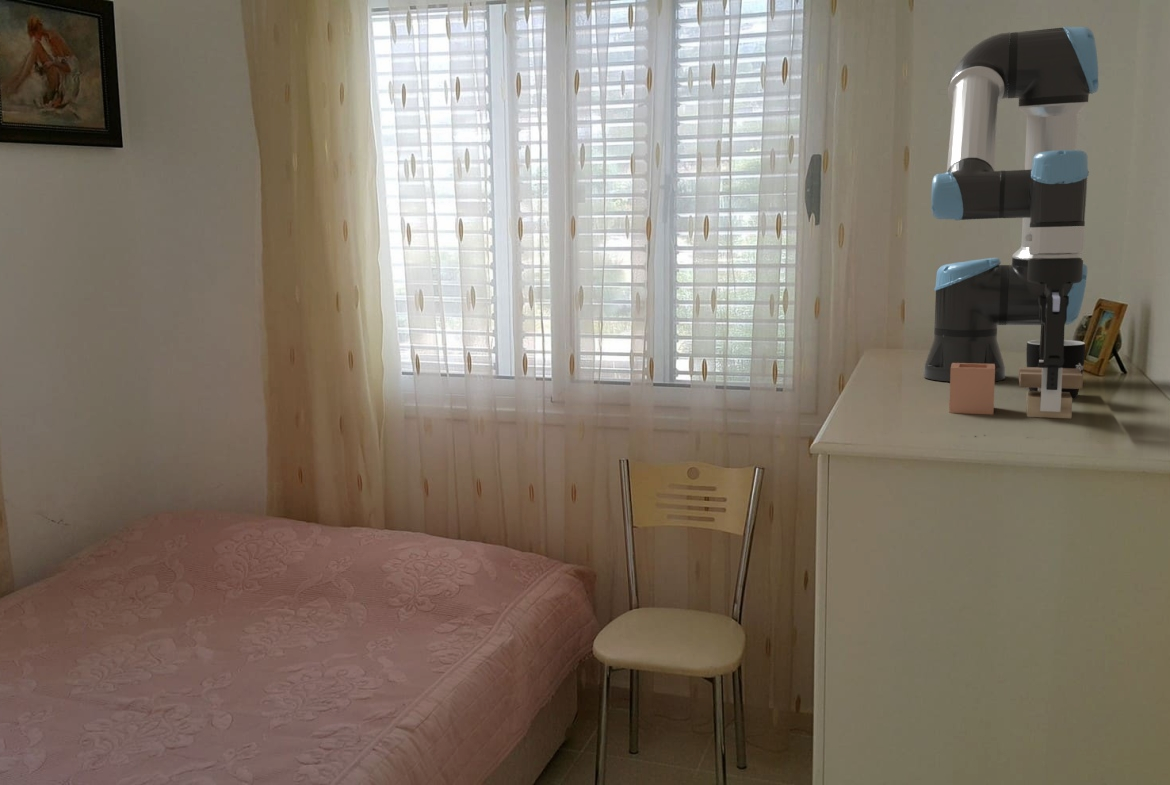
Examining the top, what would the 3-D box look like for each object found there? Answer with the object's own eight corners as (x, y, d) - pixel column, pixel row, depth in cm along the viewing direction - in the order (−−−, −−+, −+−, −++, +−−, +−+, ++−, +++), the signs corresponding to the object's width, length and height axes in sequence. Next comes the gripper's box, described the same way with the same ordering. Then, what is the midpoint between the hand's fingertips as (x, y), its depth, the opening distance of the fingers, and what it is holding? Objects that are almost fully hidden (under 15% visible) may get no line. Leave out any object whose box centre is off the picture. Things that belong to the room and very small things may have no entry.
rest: (1025, 416, 159) (1026, 390, 159) (1068, 417, 157) (1069, 392, 156) (1027, 422, 154) (1028, 396, 153) (1071, 424, 152) (1072, 398, 151)
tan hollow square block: (950, 411, 164) (951, 362, 163) (992, 413, 162) (994, 363, 161) (948, 418, 159) (950, 367, 157) (993, 420, 156) (995, 369, 155)
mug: (1079, 407, 166) (1082, 345, 164) (1020, 404, 170) (1022, 344, 169) (1087, 397, 176) (1090, 338, 174) (1031, 393, 180) (1034, 337, 179)
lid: (1018, 379, 160) (1019, 367, 160) (1077, 381, 157) (1078, 368, 157) (1020, 387, 152) (1020, 373, 152) (1082, 389, 149) (1083, 375, 149)
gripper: (1025, 255, 163) (1019, 394, 166) (1030, 258, 143) (1024, 416, 147) (1077, 254, 160) (1070, 396, 163) (1089, 258, 141) (1081, 419, 144)
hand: (1048, 406), depth 155 cm, fingers closed on lid, 8 cm apart
